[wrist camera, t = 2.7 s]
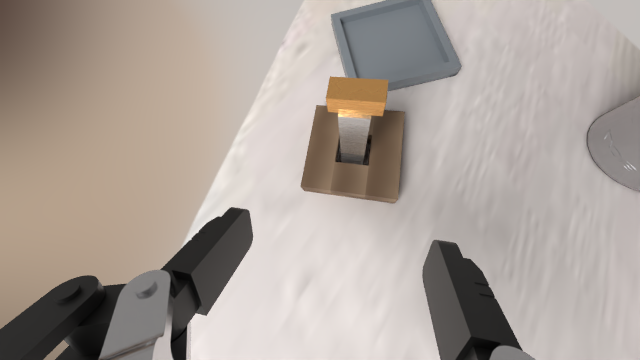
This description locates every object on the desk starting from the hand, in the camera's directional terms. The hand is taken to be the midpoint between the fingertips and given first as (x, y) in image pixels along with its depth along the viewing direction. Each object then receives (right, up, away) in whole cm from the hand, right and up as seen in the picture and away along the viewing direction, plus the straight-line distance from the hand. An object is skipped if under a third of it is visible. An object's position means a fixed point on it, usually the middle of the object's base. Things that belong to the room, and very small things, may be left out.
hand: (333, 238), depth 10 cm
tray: (+9, +20, +20) cm, 30 cm away
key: (+3, +5, +16) cm, 18 cm away
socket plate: (+3, +6, +16) cm, 18 cm away
